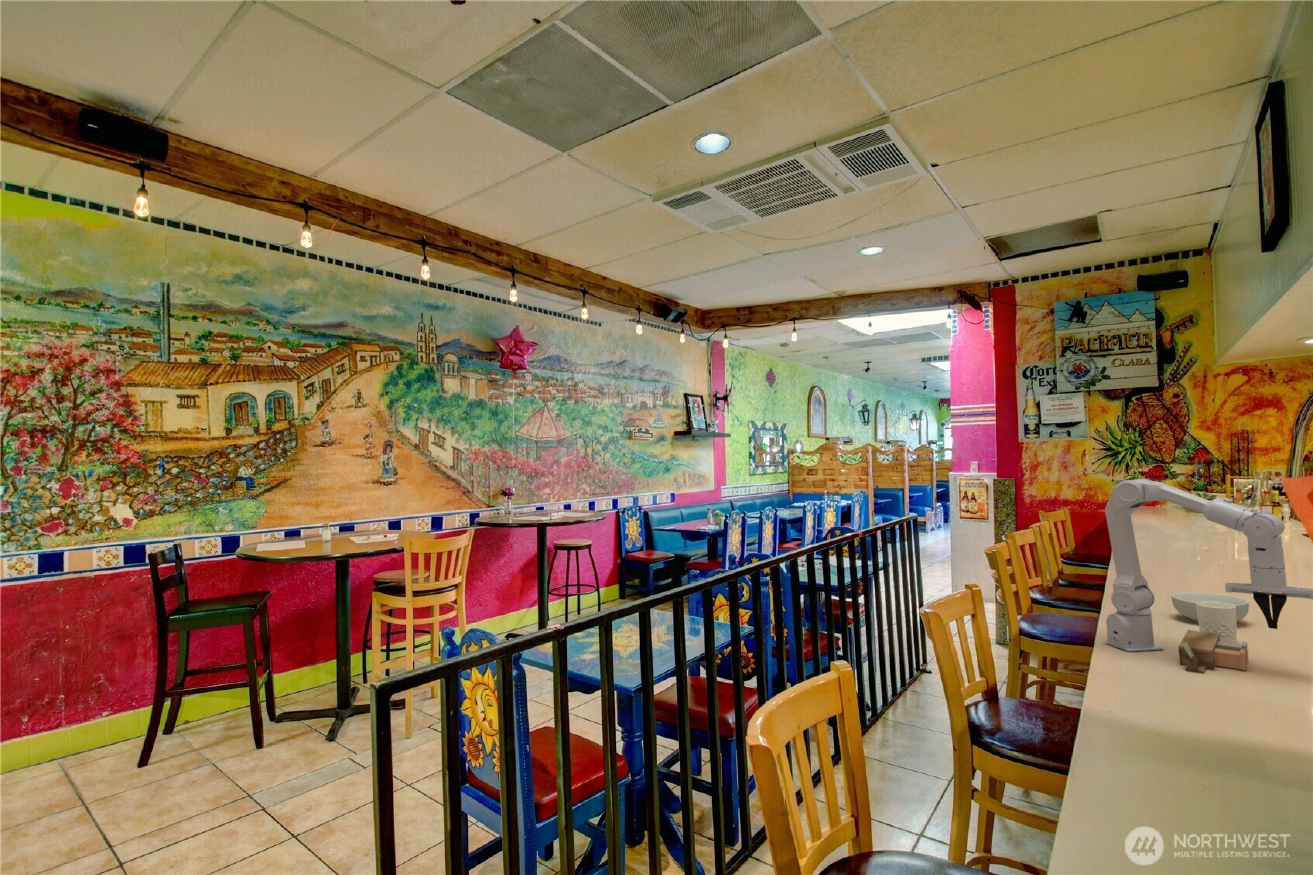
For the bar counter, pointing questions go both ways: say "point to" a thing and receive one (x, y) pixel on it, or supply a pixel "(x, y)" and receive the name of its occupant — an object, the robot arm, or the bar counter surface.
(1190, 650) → the toggle lever
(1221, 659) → the flanged terracotta block
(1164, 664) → the bar counter surface
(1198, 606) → the white cup
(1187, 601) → the cereal bowl
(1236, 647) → the plunger grey
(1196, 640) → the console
